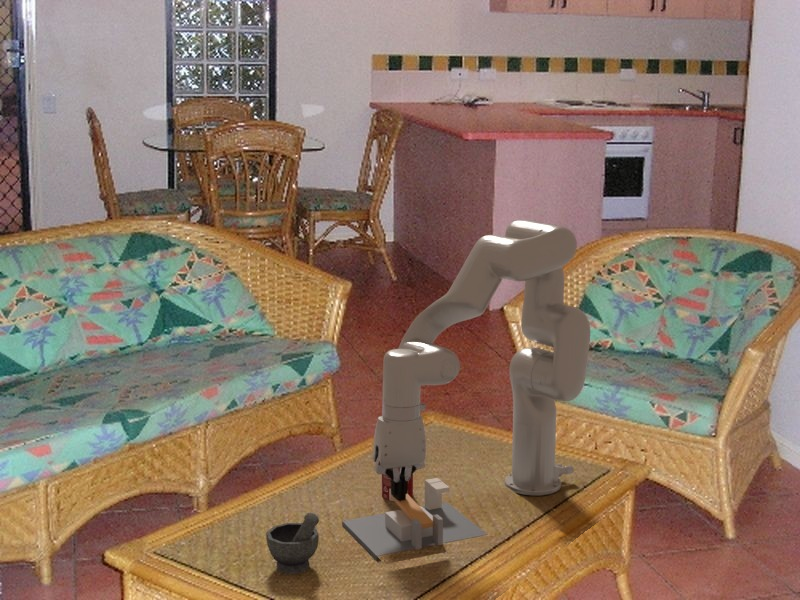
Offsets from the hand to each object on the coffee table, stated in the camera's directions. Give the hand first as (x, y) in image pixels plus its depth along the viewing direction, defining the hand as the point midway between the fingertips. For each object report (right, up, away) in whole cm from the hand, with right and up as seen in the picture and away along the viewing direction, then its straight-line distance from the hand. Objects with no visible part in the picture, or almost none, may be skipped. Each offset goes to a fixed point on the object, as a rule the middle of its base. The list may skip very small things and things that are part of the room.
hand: (399, 497), depth 234 cm
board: (+3, -7, 0) cm, 8 cm away
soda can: (0, -3, +16) cm, 17 cm away
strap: (+2, -2, -3) cm, 4 cm away
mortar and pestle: (-20, -11, -16) cm, 27 cm away
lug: (+8, -4, +8) cm, 12 cm away
